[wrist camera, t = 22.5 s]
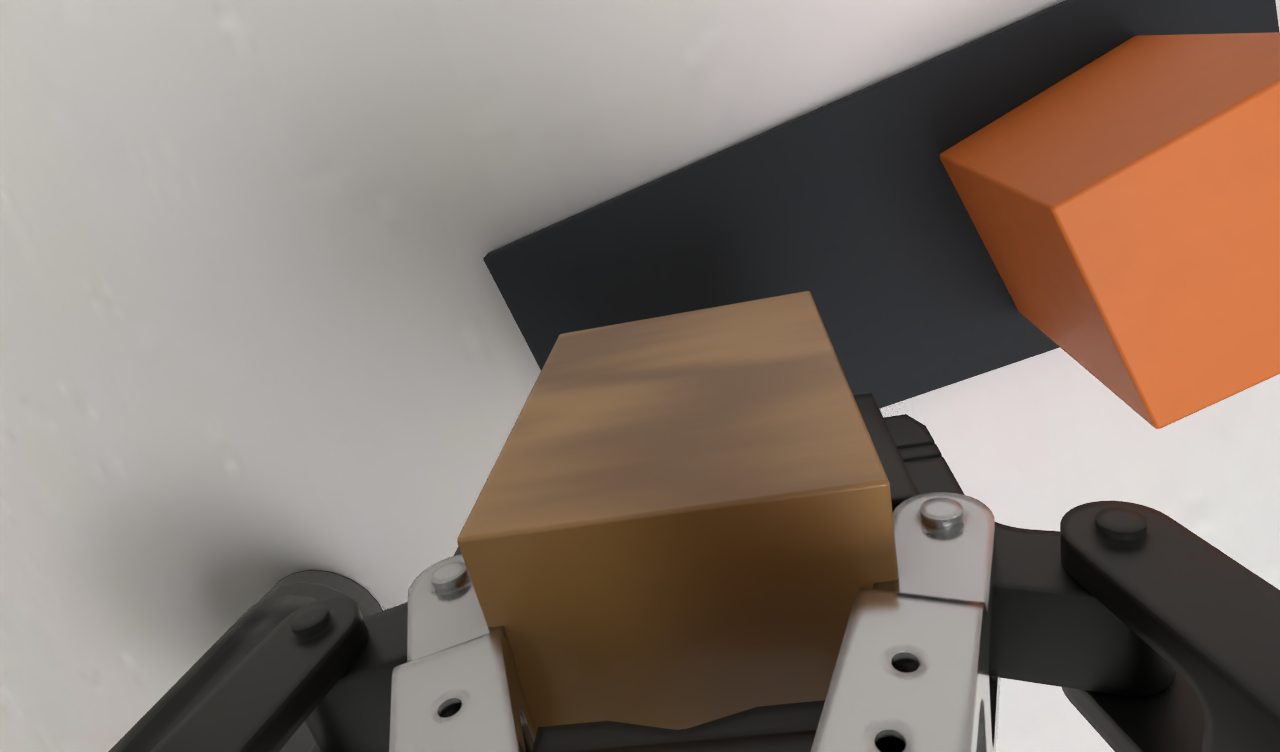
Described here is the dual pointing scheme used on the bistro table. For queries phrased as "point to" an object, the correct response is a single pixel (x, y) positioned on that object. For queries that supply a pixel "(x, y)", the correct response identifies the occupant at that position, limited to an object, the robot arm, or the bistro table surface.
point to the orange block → (1143, 216)
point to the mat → (843, 212)
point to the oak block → (682, 518)
